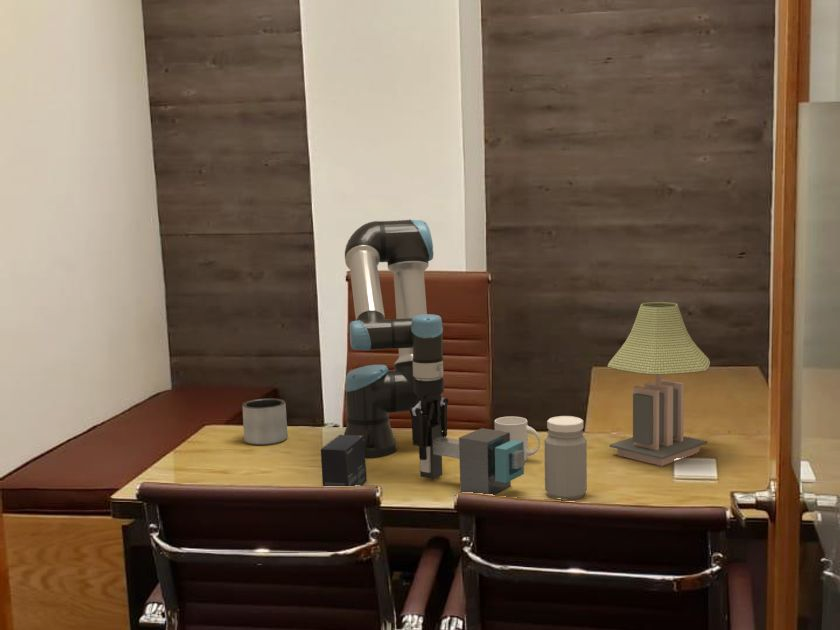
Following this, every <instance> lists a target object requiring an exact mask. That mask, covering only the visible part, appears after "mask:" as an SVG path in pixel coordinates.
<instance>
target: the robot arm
mask: <svg viewBox="0 0 840 630" xmlns="http://www.w3.org/2000/svg"><path fill="white" fill-rule="evenodd" d="M428 225H429V224H428V223H427V222H426V221H425V220H422V219H410V218H409V219H401V220H380V221H379V220H374V221H369V222H367V223H365V224H363V225H361V226H359V228H357V229H356V230H355V231H354V232H353V233H352V234H351V236H350V237H349V238H348V240H347V242H346V245H345V249H344V261H345V265H346V267H347V268H348V270H350V272H349V274H350V281H351V282H350V283H351V288H352V289H351V290H352V291H351V292H352V298H353V307H354V316H355V320H353V321H351V322H350V323H349V340H350V343H349V344H350V348H351V349H352V350H354V351H377V350H378V351H379V350H388V349H389V350H390V349H392V350H393V349H398V359H396V361H395V362H394V363H393V368H394V369H392V370H391V369H389V368H388V366H387V365H386V364H369V365H364V366H361V367H357V368H354V369H352V370H350V371H349V372H348V373H347V374H346V376H345V387H344V391H345V394H346V395H345V396H346V398H345V399H346V427H345V430H344V431H345V432H344V434H343V435H360V436H364V442H365V459H367V458H380V457H384V456H388V455H391V454H394V453H395V452H396V451H397V440H396V438H395V436H394V433H393V430H392V427H391V424H390V423H391V422H390V413H403V412H409V414H410V416H411V417H410V418H411V434H412V445H413V446H415V447H418V457H419V472H420V471H422V472H428V473H430V472H431V459H430V447H429V446H428V438H429V427H430V423H436V424H441V437H446V438H447V437H448V405H449V404H448V403H449V398H448V397H447V398H446V397H442V395H443V393H444V391H445V382H444V381H445V380H444V378H443V376H444V356H443V355H444V353H443V351H444V350H443V345H444V343H443V331H444V327H443V321H442V317H441V316H440V315H439V314H438V315H437V314H435V313H434V314H432V313H431V314H429V313H428V311H427V300H426V286H425V284H426V283H425V271H426V270H427V269H428V268H429V266H430V265H429V262H431V261H432V260H433V259H434V243H433V238H432V234H431V231H430V228H429V226H428ZM380 263H387V270H389V271H390V273H392V274H393V285H394V299H395V313H396V314H395V315H396V317H395V318H389V319H388V318H387V319H386V317H385V309H384V303H383V295H382V289H381V283H380V282H381V281H380V276H379V270H378V265H379V264H380ZM423 441H424V442H423Z"/></svg>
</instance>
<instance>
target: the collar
mask: <svg viewBox="0 0 840 630" xmlns="http://www.w3.org/2000/svg"><path fill="white" fill-rule="evenodd" d="M517 450H524V447H523V441H517V440H511V441H509V442H507V443H504V444H502V445H500V446H498V447H496V448H495V481H499V482H504V483H507V482H509V481H511V482H512V481H513V480H515V479H517V478H518V477H521V476H523V475H524V474H525V468H524V467H525V465H524V466H522V467H520V468H518V469H513V468H509V454H510V453H512V452H514V451H517Z"/></svg>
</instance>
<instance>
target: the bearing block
mask: <svg viewBox="0 0 840 630" xmlns="http://www.w3.org/2000/svg"><path fill="white" fill-rule="evenodd" d="M458 440H459V458H460V459H459V490H460V491H459V492H473V493H483V494H493V495H494V496H495V495H498V494H500V493H501V492H503V491H505V490H507V489H509V488H511V487H512V480H511V481H509V482H507V483H504V482H499V481H495V465H494V458H493V448H494V447H497V446H500V445H502V444H504V443H507V442H509V441H510V432H504V431H497V430H495V429H490V428H483V427H481V428H479V429H477V430H473V431H471V432H469V433H467V434H464V435H461V436H460V437H458Z"/></svg>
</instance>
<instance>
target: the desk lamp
mask: <svg viewBox="0 0 840 630" xmlns="http://www.w3.org/2000/svg"><path fill="white" fill-rule="evenodd" d="M679 307H680V306H679V305H678V303H676V302H668V301H667V302H666V301H665V302H664V301H652V302H642V303H641V304H640V306H639V308H638V312H637V315H636V317H635V320H634V323H633V325H632V327H631V331H630V333H629V334H628V336H627V338H626V340H625V342H624V343H623V344H622V346H621V347H620V348H619V349H618V351H616V353H615V355H613V357H612V358H611V360H609V362H608V364H607V367H608V369H613V370H618V371H622V372H628V373H634V374H635V373H636V374H641V375H651V376H653V375H655V382H650V381H649V382H646V383H644V385H643V386H644V387H643V386H639V385H635V386H633V388H632V389H633V391H632V392H633V394H632V437H629V438H626V439H623V440H620V441H616V442H614V443H611V444H609V448H613V449H616V452H617V453H616V455H617V456H619V457H623V458H628V459H632V460H635V461H640V462H643V463H648V464H653V465H657V466H660V467H663V466H666V465H668V464H671V463H674V462H675V461H674V459H676V458H682V457H685V456H688V457H690V456H689V455H691V454H693V455H695V454H694V453H696V454H698V453H697V452H699V453H700V447H701V446H703V445H706V444H708V441H707V440H702V439H698V438H693V437H690V436H684V426H685V425H684V422H685V421H684V420H685V418H684V416H685V414H684V413H685V408H684V407H685V406H684V405H685V399H684V398H685V383H684V382H679V381H672V380H667V379H663V376H662V375H680V374H691V373H699V372H705V371H706V370H707V369H708V368H709V367H710V364H711V362H710V359H709V357H707V355H706V354H705V353H704V352H703V351H702V350H701V348H700V347H698V346H697V344H696V343H695V341H693V339H692V337H691V336H690V334H689V332H688V330H687V327H686V325H685V323H684V319H683V316H682V314H681V311H680V308H679ZM691 456H692V455H691ZM685 458H686V457H685ZM682 459H683V458H682ZM673 461H674V462H673Z"/></svg>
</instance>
